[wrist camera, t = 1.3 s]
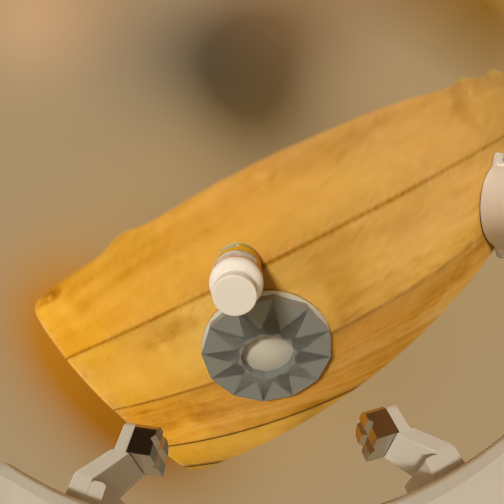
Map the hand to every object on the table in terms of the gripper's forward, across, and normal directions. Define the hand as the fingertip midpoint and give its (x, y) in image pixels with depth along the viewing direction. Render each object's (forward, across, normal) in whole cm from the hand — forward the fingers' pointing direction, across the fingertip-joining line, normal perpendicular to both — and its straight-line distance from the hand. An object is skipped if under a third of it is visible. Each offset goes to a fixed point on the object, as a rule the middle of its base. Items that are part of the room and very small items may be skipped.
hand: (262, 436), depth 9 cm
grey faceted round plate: (+25, -2, +13) cm, 28 cm away
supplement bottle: (+25, +1, 0) cm, 25 cm away
